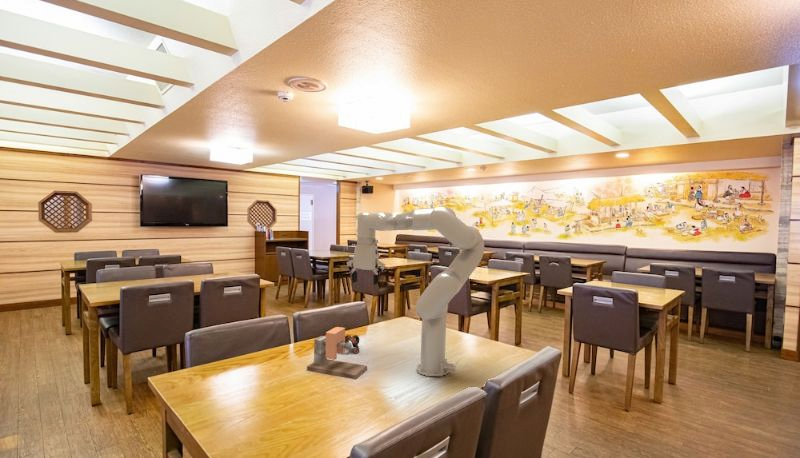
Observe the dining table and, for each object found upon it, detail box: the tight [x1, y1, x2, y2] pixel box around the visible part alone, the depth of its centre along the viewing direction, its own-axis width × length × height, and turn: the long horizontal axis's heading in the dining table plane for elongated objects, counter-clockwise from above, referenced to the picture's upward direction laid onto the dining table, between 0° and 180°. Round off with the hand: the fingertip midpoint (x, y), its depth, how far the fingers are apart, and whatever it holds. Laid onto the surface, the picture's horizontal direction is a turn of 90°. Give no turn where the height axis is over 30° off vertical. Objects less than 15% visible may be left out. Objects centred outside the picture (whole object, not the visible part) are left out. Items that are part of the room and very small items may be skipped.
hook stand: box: [306, 335, 368, 380], centre depth 149 cm, size 21×10×12 cm, turn 70°
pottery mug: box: [345, 334, 360, 355], centre depth 172 cm, size 12×10×8 cm
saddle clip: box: [325, 326, 346, 361], centre depth 149 cm, size 4×8×10 cm, turn 159°
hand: (365, 283), depth 160 cm, fingers open, 9 cm apart
